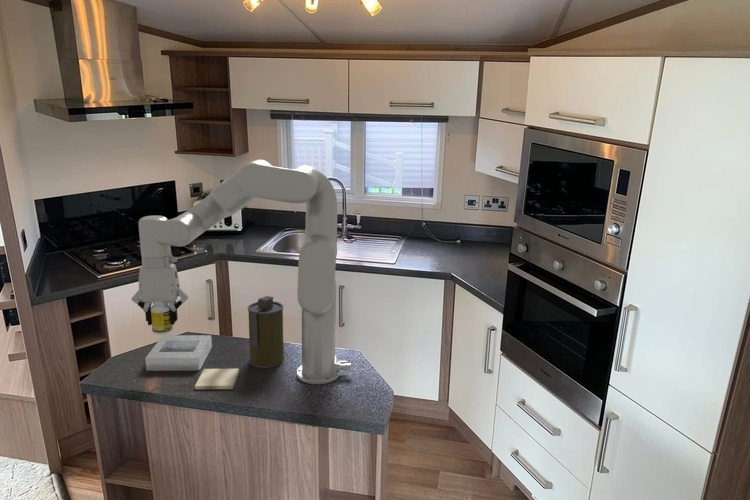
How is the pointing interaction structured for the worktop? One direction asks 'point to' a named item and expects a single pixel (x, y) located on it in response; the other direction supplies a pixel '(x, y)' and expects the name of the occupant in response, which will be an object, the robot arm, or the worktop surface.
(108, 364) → the worktop surface
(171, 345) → the socket block
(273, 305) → the canister
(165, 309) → the supplement bottle
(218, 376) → the oak board
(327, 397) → the worktop surface
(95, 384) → the worktop surface
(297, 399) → the worktop surface
